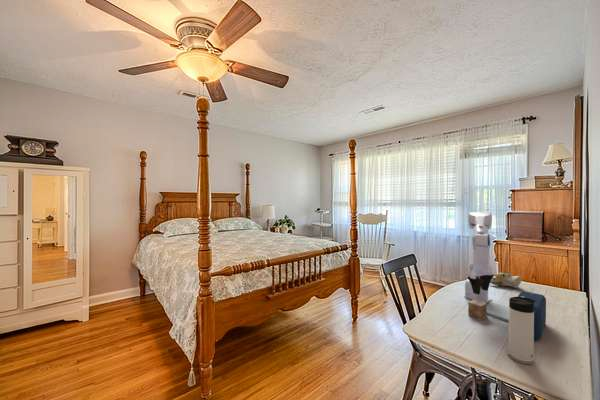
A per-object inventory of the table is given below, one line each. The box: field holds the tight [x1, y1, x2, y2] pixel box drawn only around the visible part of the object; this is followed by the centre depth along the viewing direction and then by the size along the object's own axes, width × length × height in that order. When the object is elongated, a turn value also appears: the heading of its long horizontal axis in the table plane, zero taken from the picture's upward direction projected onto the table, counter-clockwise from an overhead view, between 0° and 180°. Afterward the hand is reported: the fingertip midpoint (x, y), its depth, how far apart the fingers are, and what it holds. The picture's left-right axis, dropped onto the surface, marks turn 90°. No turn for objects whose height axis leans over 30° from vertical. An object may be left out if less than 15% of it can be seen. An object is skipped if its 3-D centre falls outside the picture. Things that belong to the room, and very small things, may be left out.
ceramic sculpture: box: [490, 271, 523, 289], centre depth 150 cm, size 11×9×15 cm
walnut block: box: [467, 299, 488, 321], centre depth 115 cm, size 5×5×6 cm
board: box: [487, 301, 509, 323], centre depth 118 cm, size 12×14×1 cm
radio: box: [517, 290, 547, 341], centre depth 104 cm, size 21×9×20 cm, turn 132°
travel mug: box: [508, 296, 535, 365], centre depth 86 cm, size 6×7×20 cm
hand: (480, 291), depth 116 cm, fingers open, 7 cm apart
